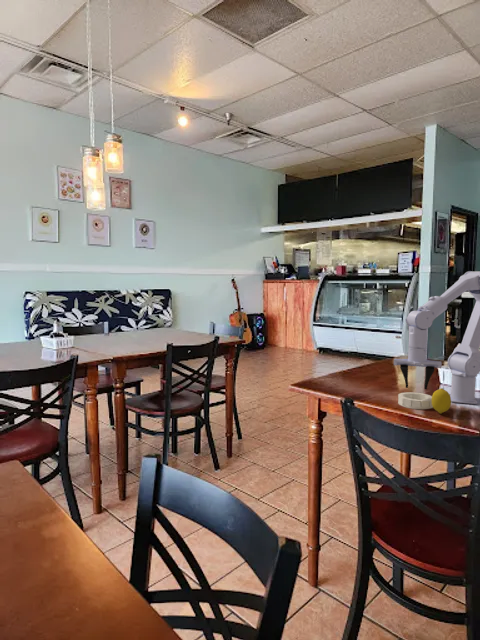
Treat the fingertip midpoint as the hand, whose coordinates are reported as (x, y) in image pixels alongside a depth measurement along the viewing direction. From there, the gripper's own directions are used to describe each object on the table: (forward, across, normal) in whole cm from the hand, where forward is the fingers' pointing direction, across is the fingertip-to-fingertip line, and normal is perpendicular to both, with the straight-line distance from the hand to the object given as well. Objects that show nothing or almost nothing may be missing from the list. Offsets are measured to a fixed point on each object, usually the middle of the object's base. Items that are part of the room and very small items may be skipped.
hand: (416, 387), depth 146 cm
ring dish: (+6, 0, 0) cm, 6 cm away
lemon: (+6, +7, -8) cm, 12 cm away
